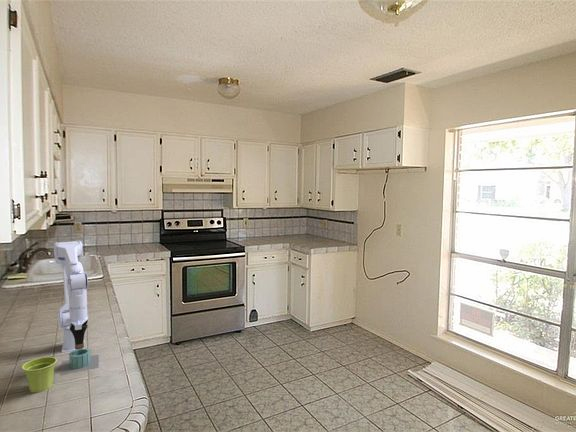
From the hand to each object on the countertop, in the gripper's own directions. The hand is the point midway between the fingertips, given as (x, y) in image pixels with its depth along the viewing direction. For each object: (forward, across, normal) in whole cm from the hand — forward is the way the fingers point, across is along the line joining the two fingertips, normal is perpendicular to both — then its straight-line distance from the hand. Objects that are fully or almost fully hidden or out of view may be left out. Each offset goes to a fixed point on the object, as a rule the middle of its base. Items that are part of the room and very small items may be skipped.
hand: (79, 342), depth 134 cm
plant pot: (+9, +12, -11) cm, 19 cm away
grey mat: (+9, 0, 0) cm, 9 cm away
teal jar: (+8, 0, 0) cm, 8 cm away
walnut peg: (+2, 0, 0) cm, 2 cm away
